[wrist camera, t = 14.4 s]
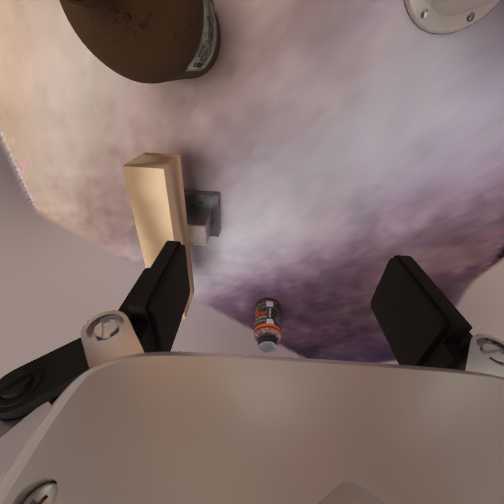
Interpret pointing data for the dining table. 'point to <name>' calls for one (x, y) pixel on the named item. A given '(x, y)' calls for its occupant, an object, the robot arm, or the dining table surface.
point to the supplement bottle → (267, 325)
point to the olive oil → (148, 36)
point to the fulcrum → (202, 216)
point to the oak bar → (158, 205)
